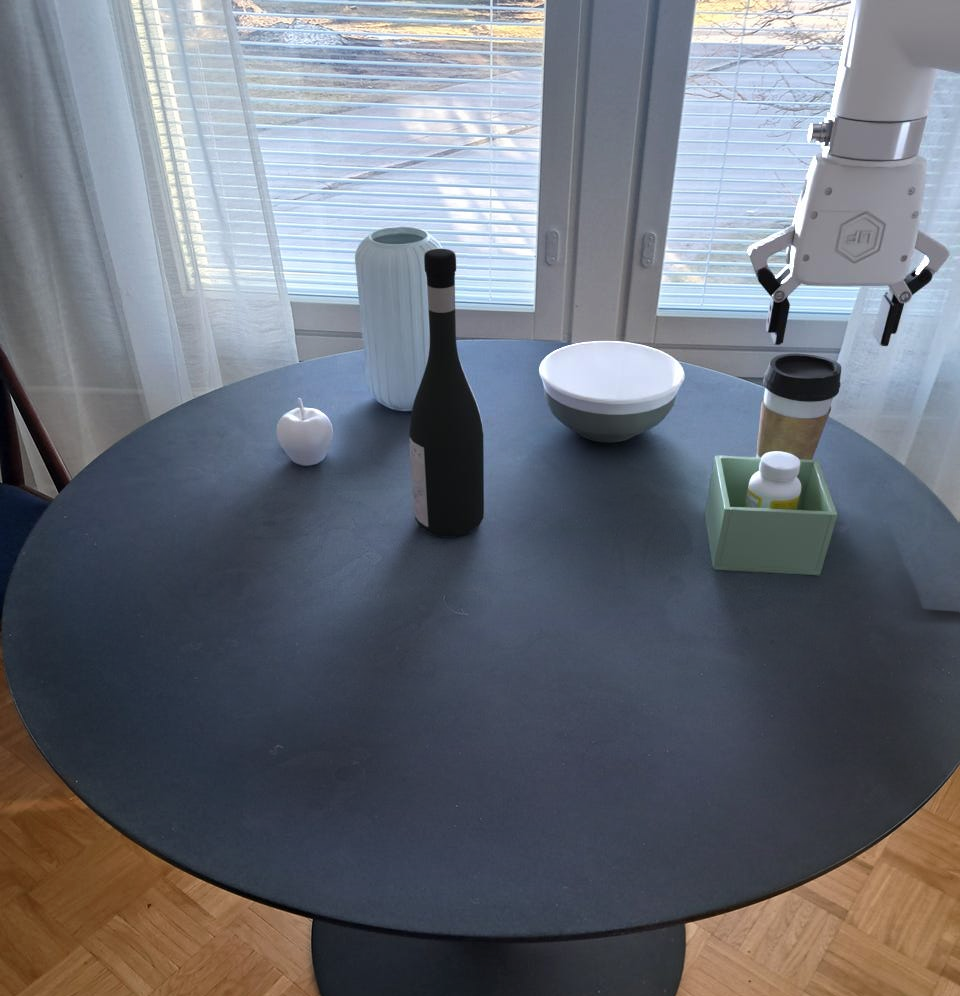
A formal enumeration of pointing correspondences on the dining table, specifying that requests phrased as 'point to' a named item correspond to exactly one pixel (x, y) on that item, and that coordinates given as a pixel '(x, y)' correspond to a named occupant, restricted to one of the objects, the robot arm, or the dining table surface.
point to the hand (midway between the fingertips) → (827, 340)
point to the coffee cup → (796, 403)
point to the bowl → (610, 388)
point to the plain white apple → (305, 435)
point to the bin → (767, 522)
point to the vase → (394, 312)
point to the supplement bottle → (775, 483)
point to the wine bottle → (445, 420)
